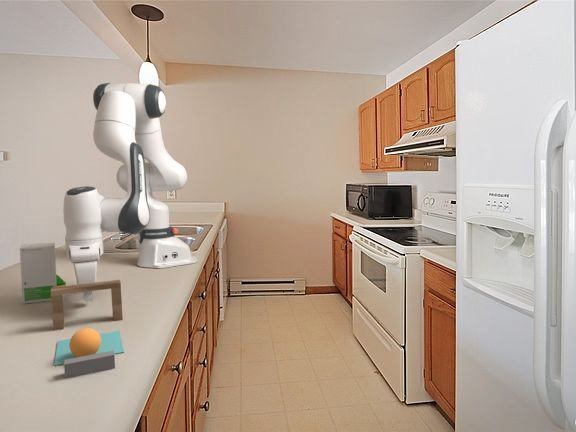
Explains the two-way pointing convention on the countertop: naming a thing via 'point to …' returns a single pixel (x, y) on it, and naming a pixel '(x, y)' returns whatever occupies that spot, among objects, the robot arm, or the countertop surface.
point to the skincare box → (37, 271)
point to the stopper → (89, 364)
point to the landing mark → (108, 343)
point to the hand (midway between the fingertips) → (88, 299)
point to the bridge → (59, 291)
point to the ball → (85, 342)
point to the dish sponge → (60, 281)
